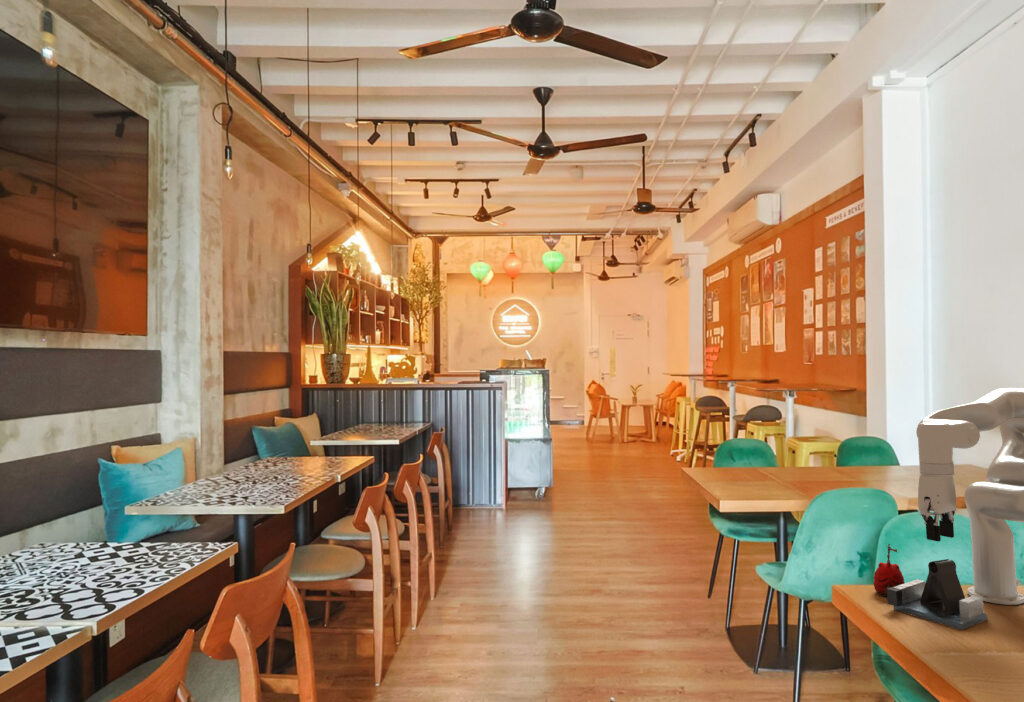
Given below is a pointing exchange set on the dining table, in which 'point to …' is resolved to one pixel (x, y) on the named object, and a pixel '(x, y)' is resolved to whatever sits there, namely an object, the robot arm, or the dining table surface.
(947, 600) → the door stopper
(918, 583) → the block
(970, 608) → the dark grey base plate
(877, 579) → the red clay folk toy
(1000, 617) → the dining table surface
